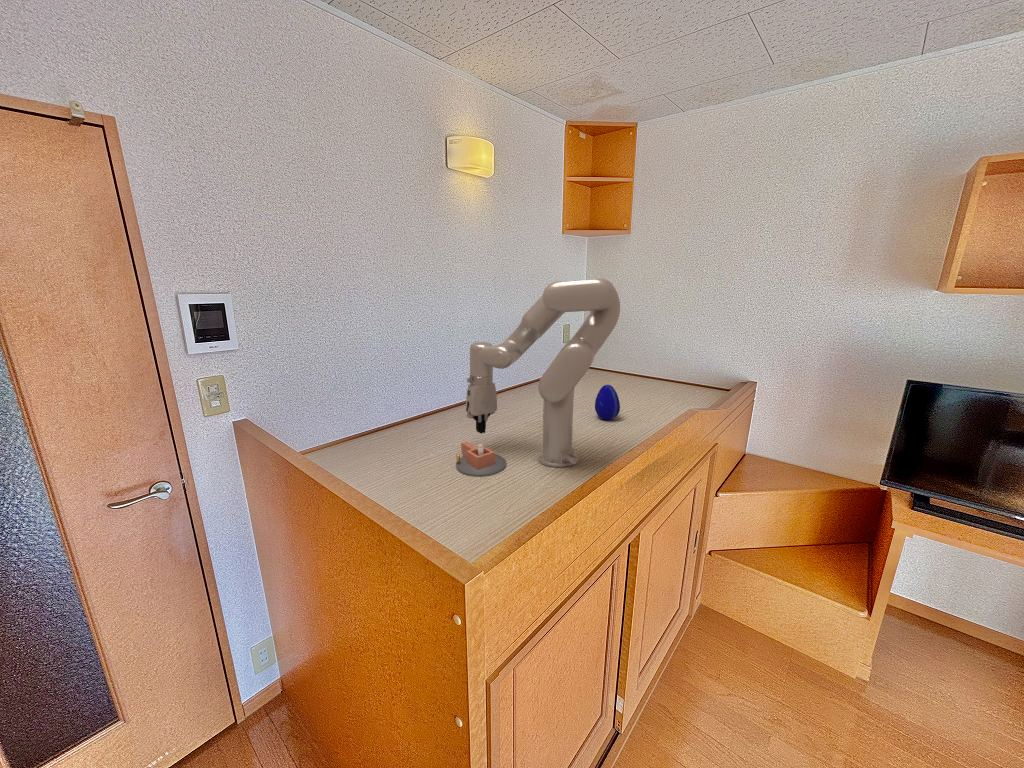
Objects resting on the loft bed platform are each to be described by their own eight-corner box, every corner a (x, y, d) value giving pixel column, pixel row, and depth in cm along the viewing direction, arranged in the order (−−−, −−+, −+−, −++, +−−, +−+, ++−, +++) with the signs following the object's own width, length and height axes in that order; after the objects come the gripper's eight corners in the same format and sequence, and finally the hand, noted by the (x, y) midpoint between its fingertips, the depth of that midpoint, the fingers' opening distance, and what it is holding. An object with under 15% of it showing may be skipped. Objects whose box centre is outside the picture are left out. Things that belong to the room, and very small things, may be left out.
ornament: (623, 421, 172) (625, 386, 168) (604, 424, 169) (606, 388, 165) (607, 413, 182) (609, 380, 178) (589, 416, 179) (591, 382, 175)
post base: (516, 466, 130) (515, 445, 129) (473, 481, 121) (472, 458, 119) (487, 451, 143) (487, 431, 141) (446, 463, 133) (445, 442, 132)
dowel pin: (461, 463, 131) (460, 454, 131) (457, 464, 131) (457, 455, 130) (459, 462, 132) (458, 453, 132) (455, 463, 132) (455, 454, 131)
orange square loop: (495, 464, 131) (495, 452, 130) (477, 469, 127) (477, 457, 126) (472, 450, 141) (471, 439, 140) (455, 455, 137) (455, 444, 136)
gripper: (467, 385, 128) (467, 440, 133) (506, 379, 137) (504, 431, 142) (455, 380, 134) (456, 433, 139) (493, 375, 143) (492, 424, 148)
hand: (480, 431), depth 140 cm, fingers closed
